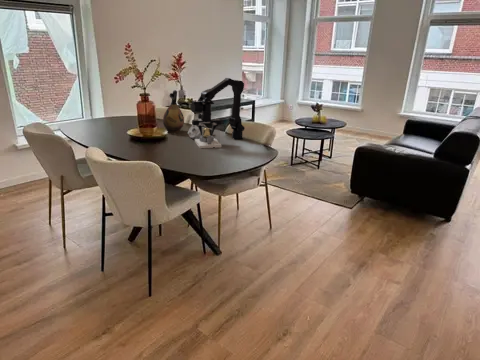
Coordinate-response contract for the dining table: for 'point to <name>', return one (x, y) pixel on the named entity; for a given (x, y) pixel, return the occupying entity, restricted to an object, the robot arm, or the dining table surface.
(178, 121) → the ceramic jug
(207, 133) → the brass cylinder
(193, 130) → the mechanical valve
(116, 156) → the dining table surface
